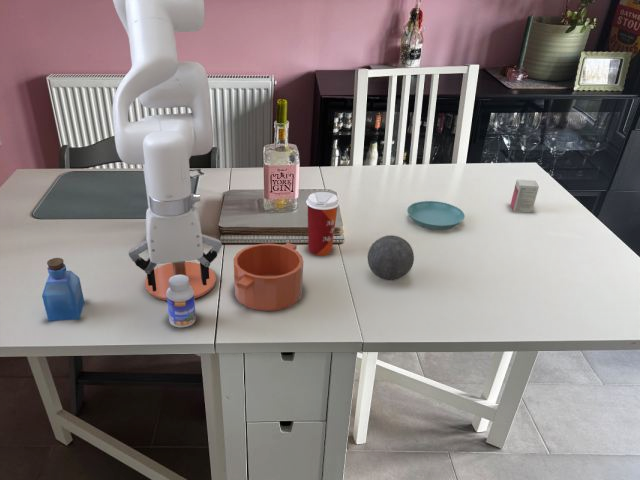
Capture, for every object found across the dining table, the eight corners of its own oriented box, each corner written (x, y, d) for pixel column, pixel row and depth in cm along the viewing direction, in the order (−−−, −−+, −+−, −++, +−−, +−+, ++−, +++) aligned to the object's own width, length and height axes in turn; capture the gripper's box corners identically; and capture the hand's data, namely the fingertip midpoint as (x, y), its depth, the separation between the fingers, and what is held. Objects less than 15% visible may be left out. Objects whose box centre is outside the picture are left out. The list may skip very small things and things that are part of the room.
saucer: (401, 228, 149) (402, 219, 147) (410, 206, 160) (412, 197, 159) (460, 238, 144) (462, 228, 142) (465, 214, 155) (467, 205, 154)
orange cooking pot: (214, 303, 120) (212, 271, 116) (264, 263, 134) (264, 232, 130) (272, 325, 114) (272, 292, 109) (319, 280, 128) (321, 249, 123)
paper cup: (334, 259, 135) (338, 205, 128) (302, 256, 137) (304, 202, 129) (337, 244, 142) (340, 191, 134) (306, 241, 143) (308, 189, 136)
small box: (528, 206, 159) (535, 180, 155) (532, 213, 156) (539, 186, 151) (509, 205, 160) (516, 179, 156) (512, 211, 156) (519, 185, 152)
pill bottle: (176, 331, 112) (171, 290, 107) (165, 318, 116) (160, 277, 111) (200, 322, 115) (197, 282, 109) (188, 309, 118) (185, 269, 113)
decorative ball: (402, 293, 123) (409, 253, 117) (359, 281, 127) (363, 242, 122) (416, 272, 130) (422, 233, 125) (374, 262, 134) (378, 224, 129)
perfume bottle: (54, 303, 121) (42, 254, 114) (84, 302, 121) (74, 253, 115) (48, 321, 116) (35, 270, 109) (79, 319, 116) (68, 268, 110)
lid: (130, 289, 125) (127, 265, 122) (176, 259, 136) (174, 236, 133) (185, 311, 118) (183, 286, 115) (229, 278, 129) (228, 254, 126)
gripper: (216, 190, 106) (220, 270, 115) (121, 199, 103) (133, 280, 112) (222, 206, 99) (226, 289, 108) (121, 216, 97) (134, 300, 106)
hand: (179, 284), depth 110 cm, fingers open, 9 cm apart
